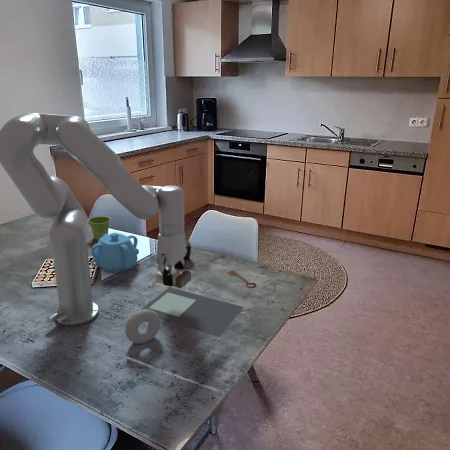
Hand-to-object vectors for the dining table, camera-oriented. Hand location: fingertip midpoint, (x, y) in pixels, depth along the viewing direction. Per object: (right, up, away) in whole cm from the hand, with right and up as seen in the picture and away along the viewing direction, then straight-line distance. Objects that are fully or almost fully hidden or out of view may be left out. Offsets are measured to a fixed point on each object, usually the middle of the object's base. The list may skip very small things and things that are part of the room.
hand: (173, 280), depth 128 cm
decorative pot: (-25, +1, +28) cm, 38 cm away
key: (+22, -3, +22) cm, 31 cm away
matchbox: (+5, -21, -28) cm, 35 cm away
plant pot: (-40, +11, +55) cm, 69 cm away
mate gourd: (-2, +4, +37) cm, 37 cm away
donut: (-6, -15, -15) cm, 22 cm away
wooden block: (0, 0, 0) cm, 0 cm away
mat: (+6, -10, 0) cm, 11 cm away
